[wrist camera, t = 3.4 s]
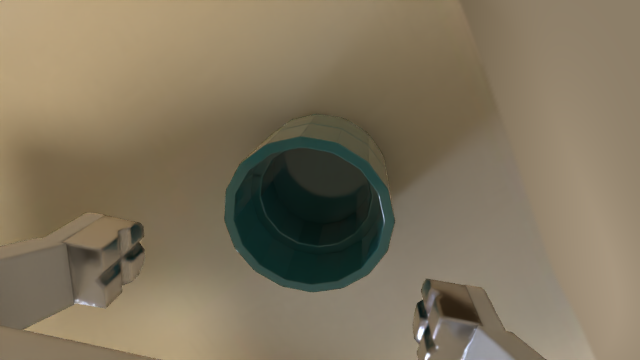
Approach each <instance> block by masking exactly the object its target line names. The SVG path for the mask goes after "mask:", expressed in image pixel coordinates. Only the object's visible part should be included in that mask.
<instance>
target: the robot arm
mask: <svg viewBox="0 0 640 360" xmlns="http://www.w3.org/2000/svg"><path fill="white" fill-rule="evenodd" d="M143 237H144V228H143V225H142V224H141V223H139V222H135V221H130V220H125V219H121V218H116V217H111V216H106V215H102V214H97V213H85V214H83V215H81V216H80V217H78V218H76V219H74V220H73V221H71V222H69V223H68V224H66V225H64V226H63V227H61V228H59V229H57V230H56V231H54V232H52V233H51V234H49V235H47V236H46V237H44V238H42V239H40V238H33V239H29V240H24V241H20V242H15V243H11V244H7V245H2V246H0V360H161V359H156V358H151V357H147V356H142V355H137V354H133V353H128V352H123V351H119V350H114V349H109V348H105V347H100V346H95V345H91V344H86V343H81V342H77V341H72V340H67V339H63V338H58V337H53V336H49V335H44V334H39V333H34V332H30V331H25V330H23V329H25V328H27V327H29V326H31V325H33V324H35V323H37V322H39V321H41V320H43V319H45V318H48V317H50V316H52V315H54V314H56V313H58V312H60V311H62V310H64V309H66V308H68V307H70V306H72V305H74V303H78V304H83V305H89V306H95V307H100V308H107V307H108V306H109V305H110V304H111V303H112V302H113V301H114V300H115V299H116V298H117V297H118V296H119V295H120V294H121V293H122V285H125V284H127V283H130V282H132V281H133V280H134V279H135V278H136V277H137V276H138V275H139V273H140V271H141V269H142V267H143V265H144V260H145V249H144V248H143V247H142V245H141V244H140V241H141V240H142V239H143ZM421 293H422V297H423V300H421V301H420V302H418V303H417V305H416V308H415V312H414V318H413V333H414V339H415V340H416V341H417V342H418V343H419V347H418V350H417V356H418V360H546V359H545V358H543V357H542V356H541V355H540V354H538V353H537V352H536V351H535V350H533V349H532V348H531V347H530V346H528V345H527V344H526V343H525V342H523V341H522V340H521V339H520V338H518V337H517V336H516V335H515V334H513V333H512V332H508V331H506V330H505V328H504V327H503V325H502V323H501V321H500V319H499V317H498V315H497V313H496V311H495V309H494V307H493V305H492V303H491V301H490V299H489V297H488V295H487V293H486V291H485V290H484V289H483V288H481V287H475V286H469V285H461V284H455V283H449V282H443V281H438V280H432V279H426V280H425V281H424V283H423V286H422V289H421Z"/></svg>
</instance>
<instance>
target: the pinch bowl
mask: <svg viewBox="0 0 640 360" xmlns="http://www.w3.org/2000/svg"><path fill="white" fill-rule="evenodd" d="M224 220H225V223H226V226H227V229H228V231H229V234H230V237H231V240H232V242H233V245H234V247H235V249H236V250H237V251H238V252H239V254H240V255H241V256H242V257H243V258H244V259H245V260H246V262H247V263H248V264H249V265H250V266H251V267H252V268H253V270H255V271H256V272H257V273H259V274H261V275H263V276H264V277H266V278H268V279H270V280H271V281H273V282H275V283H277V284H278V285H280V286H283V287H287V288H292V289H297V290H302V291H307V292H319V291H327V290H334V289H341V288H344V287H346V286H348V285H350V284H351V283H353V282H355V281H357V280H359V279H361V278H363V277H365V276H367V275H368V274H369V273H370V272H371V271H372V270H373V268H374V267H375V266H376V265H377V264H378V262H379V261H380V260H381V259H382V257H383V256H384V255H385V254H386V253H387V251H388V248H389V244H390V240H391V236H392V232H393V228H394V224H395V218H394V212H393V206H392V200H391V194H390V188H389V182H388V177H387V172H386V166H385V161H384V157H383V154H382V152H381V151H380V150H379V148H378V147H377V145H376V144H375V142H374V141H373V140H372V138H371V137H370V135H369V134H367V132H366V131H364V130H363V129H361V128H359V127H358V126H356V125H355V124H353V123H351V122H350V121H348V120H347V119H344V118H340V117H334V116H328V115H322V114H314V115H309V116H305V117H301V118H297V119H292V120H291V121H289V122H288V123H286V124H285V125H284V126H282V127H281V128H280V129H278V130H277V131H276V132H274V133H273V134H272V135H270V136H269V137H268V138H267V139H266V140H265V141H264V142H263V143H262V144H261V145H260V146H259V147H257V148H256V149H255V150H254V151H253V152H252V153H251V154H250V155H249V156H248V157H246V158H245V159H244V160H243V161H242V162H241V163H240V164H239V166H238V168H237V170H236V172H235V174H234V176H233V178H232V179H231V181H230V183H229V185H228V187H227V189H226V196H225V216H224Z"/></svg>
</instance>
